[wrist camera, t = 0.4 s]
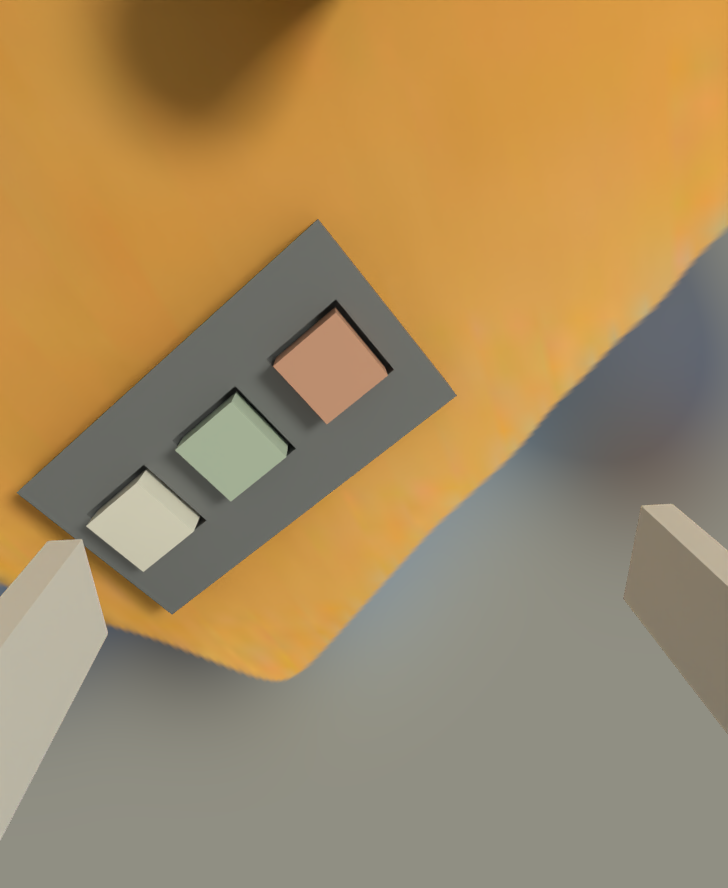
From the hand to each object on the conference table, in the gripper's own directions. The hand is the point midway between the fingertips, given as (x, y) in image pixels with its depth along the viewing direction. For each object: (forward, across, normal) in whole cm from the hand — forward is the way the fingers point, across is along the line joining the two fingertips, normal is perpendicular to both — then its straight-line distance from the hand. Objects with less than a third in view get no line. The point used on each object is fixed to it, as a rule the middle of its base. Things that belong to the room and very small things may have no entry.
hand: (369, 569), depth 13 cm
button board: (+26, -8, -6) cm, 28 cm away
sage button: (+24, -8, -6) cm, 26 cm away
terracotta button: (+24, -1, -1) cm, 24 cm away
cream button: (+24, -14, -11) cm, 30 cm away
